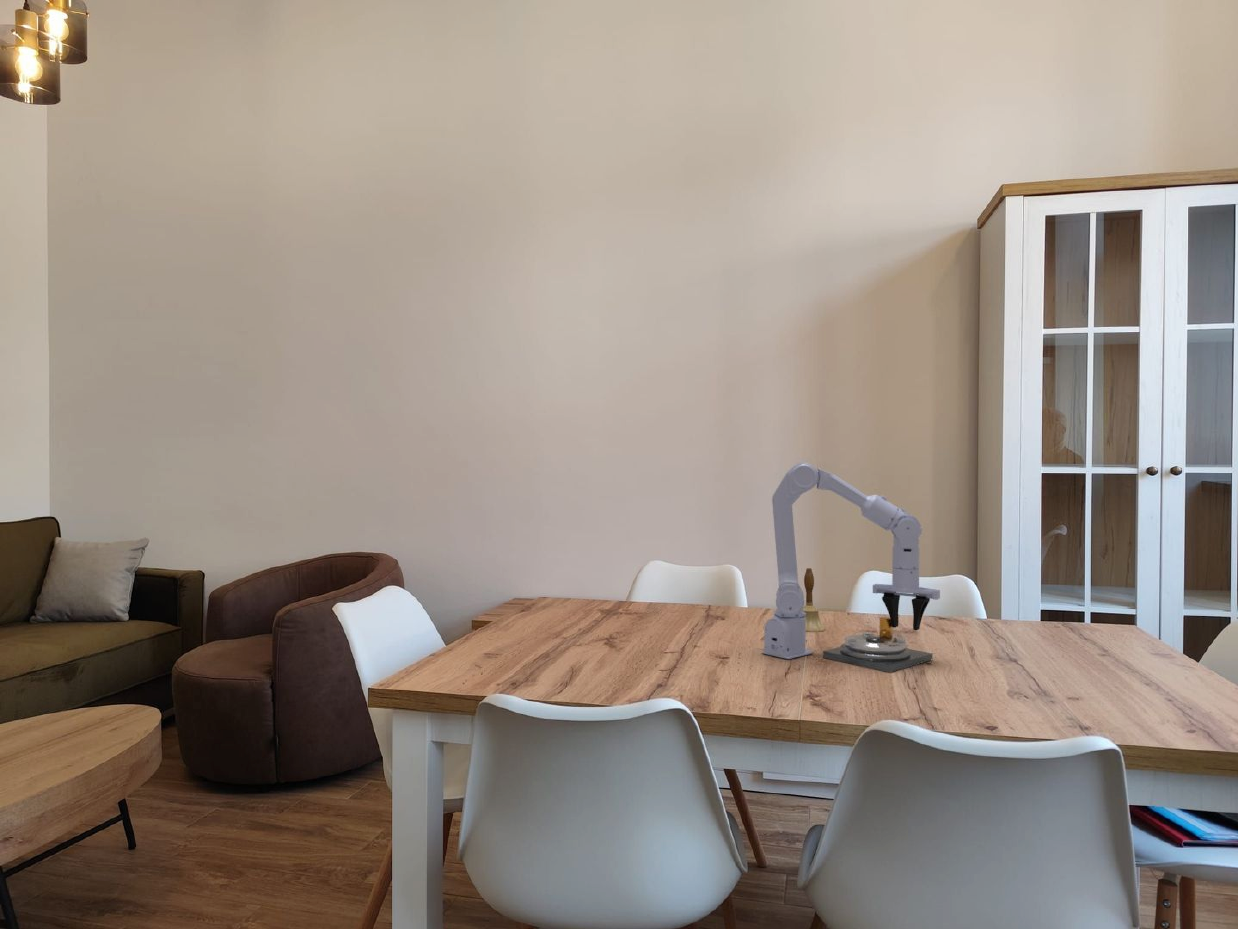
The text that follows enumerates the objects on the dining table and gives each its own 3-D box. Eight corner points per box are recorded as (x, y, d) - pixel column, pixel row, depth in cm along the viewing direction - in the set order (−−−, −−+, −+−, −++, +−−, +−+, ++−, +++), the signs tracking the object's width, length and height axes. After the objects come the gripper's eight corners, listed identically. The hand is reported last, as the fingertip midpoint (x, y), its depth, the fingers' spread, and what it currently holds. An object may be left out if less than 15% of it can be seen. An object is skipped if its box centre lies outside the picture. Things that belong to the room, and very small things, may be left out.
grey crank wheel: (888, 657, 180) (888, 630, 180) (834, 647, 189) (834, 621, 189) (916, 647, 189) (916, 621, 189) (863, 638, 199) (863, 613, 198)
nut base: (890, 672, 178) (890, 660, 178) (823, 657, 191) (823, 645, 191) (932, 660, 189) (932, 648, 189) (866, 646, 202) (866, 635, 202)
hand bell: (817, 633, 217) (817, 571, 217) (787, 629, 222) (788, 568, 222) (830, 628, 223) (831, 568, 223) (801, 624, 228) (801, 565, 228)
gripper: (944, 568, 189) (944, 629, 189) (880, 563, 197) (880, 621, 198) (934, 572, 183) (933, 634, 183) (869, 566, 192) (868, 626, 192)
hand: (905, 628), depth 190 cm, fingers open, 4 cm apart
